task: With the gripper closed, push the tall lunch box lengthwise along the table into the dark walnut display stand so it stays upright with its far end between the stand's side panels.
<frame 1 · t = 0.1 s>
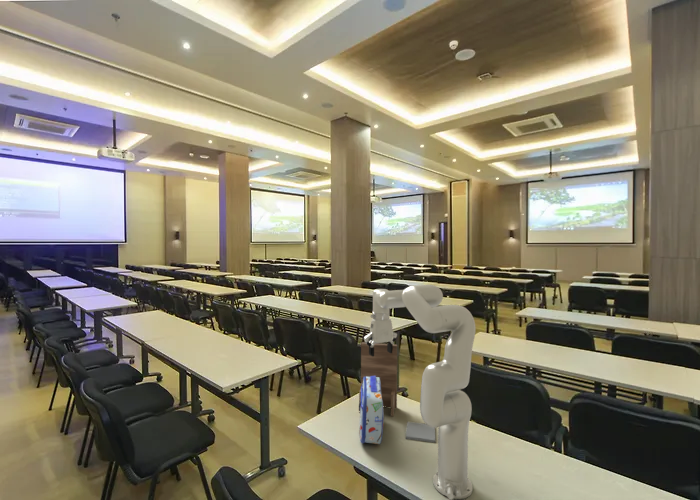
hand: (380, 354, 151), 31 cm above the table, tool pointing down, fingers open, 9 cm apart
notebook: (420, 434, 143), on the table
display stand: (377, 410, 162), on the table
lunch box: (370, 431, 144), on the table
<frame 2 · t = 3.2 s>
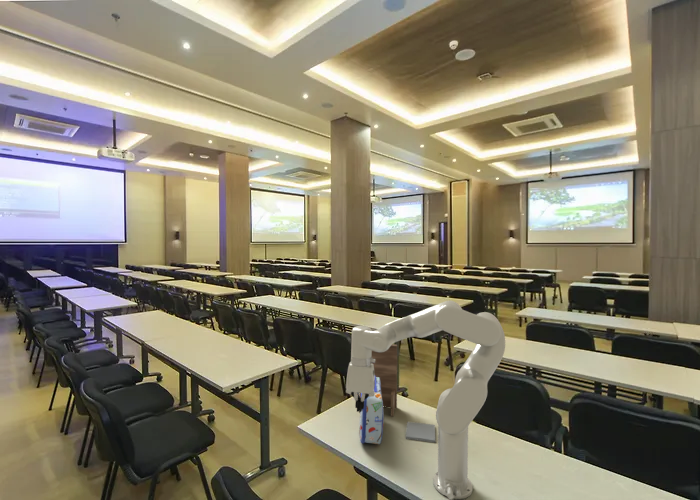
hand: (359, 410, 122), 20 cm above the table, tool pointing down, fingers closed
nothing on the table moved.
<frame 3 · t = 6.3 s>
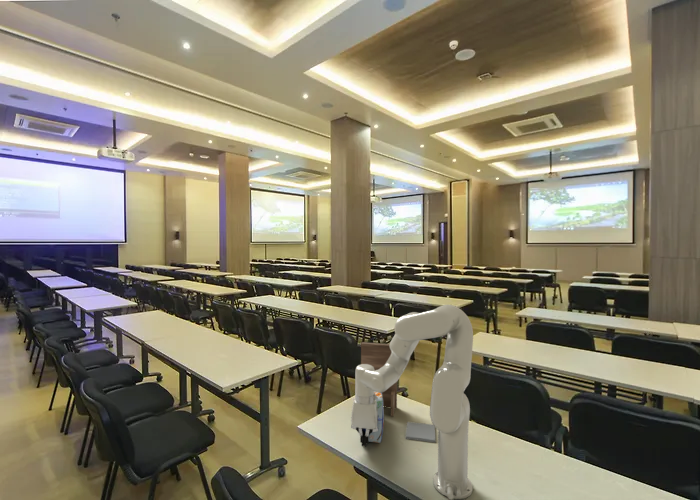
hand: (364, 444, 129), 3 cm above the table, tool pointing down, fingers closed
lunch box: (371, 430, 144), on the table, touching arm, gripper
everything else where it was.
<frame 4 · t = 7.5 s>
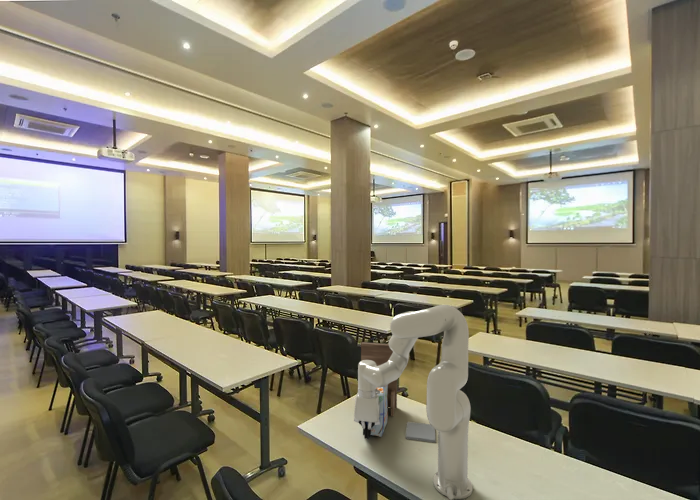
hand: (366, 437, 135), 3 cm above the table, tool pointing down, fingers closed
lunch box: (375, 425, 149), on the table, touching gripper
everything else where it was.
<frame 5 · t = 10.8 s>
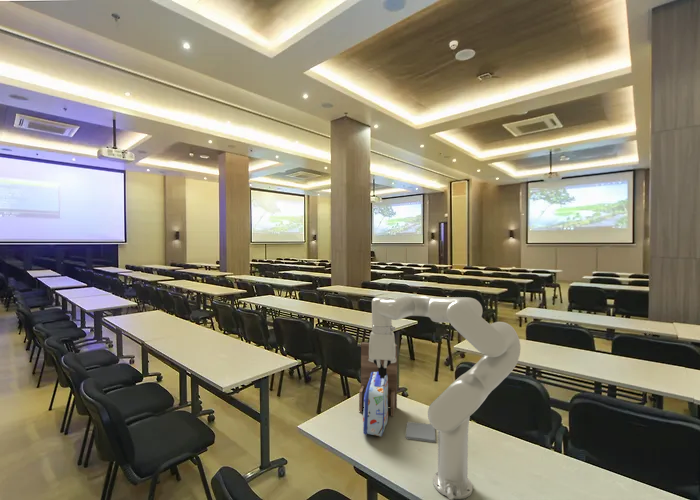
hand: (382, 377, 128), 30 cm above the table, tool pointing down, fingers closed
lunch box: (376, 424, 149), on the table
everything else where it was.
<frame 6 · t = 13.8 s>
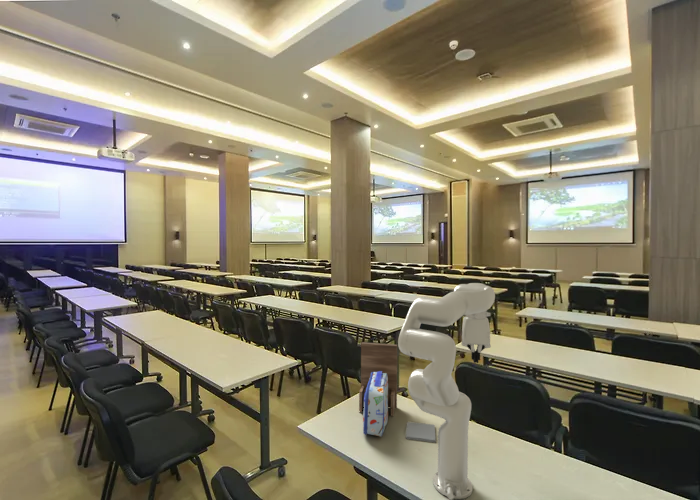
hand: (475, 361, 130), 35 cm above the table, tool pointing down, fingers closed
nothing on the table moved.
at the end: lunch box 1.5 cm from the target spot on the table beside the display stand, on the table; lunch box tilted 0°; lunch box moved 6.3 cm from its start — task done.
